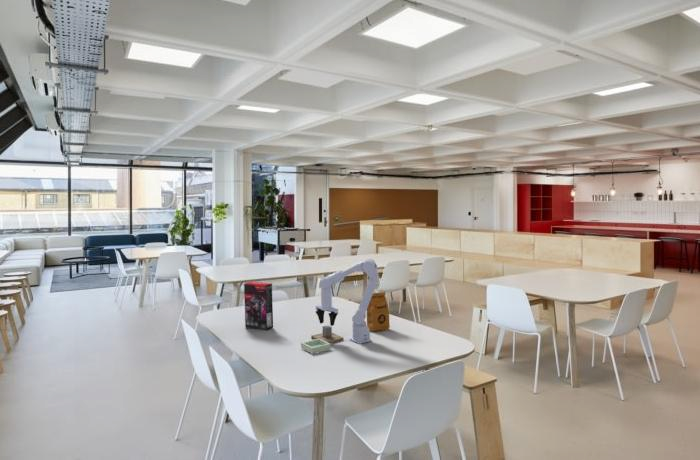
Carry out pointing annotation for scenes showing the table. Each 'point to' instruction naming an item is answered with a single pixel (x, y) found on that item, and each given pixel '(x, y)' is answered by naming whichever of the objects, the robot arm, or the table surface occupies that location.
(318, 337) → the tan flat square frame
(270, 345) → the table surface
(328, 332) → the pin
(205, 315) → the table surface
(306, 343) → the tray
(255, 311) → the graphics card box
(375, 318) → the coffee package
